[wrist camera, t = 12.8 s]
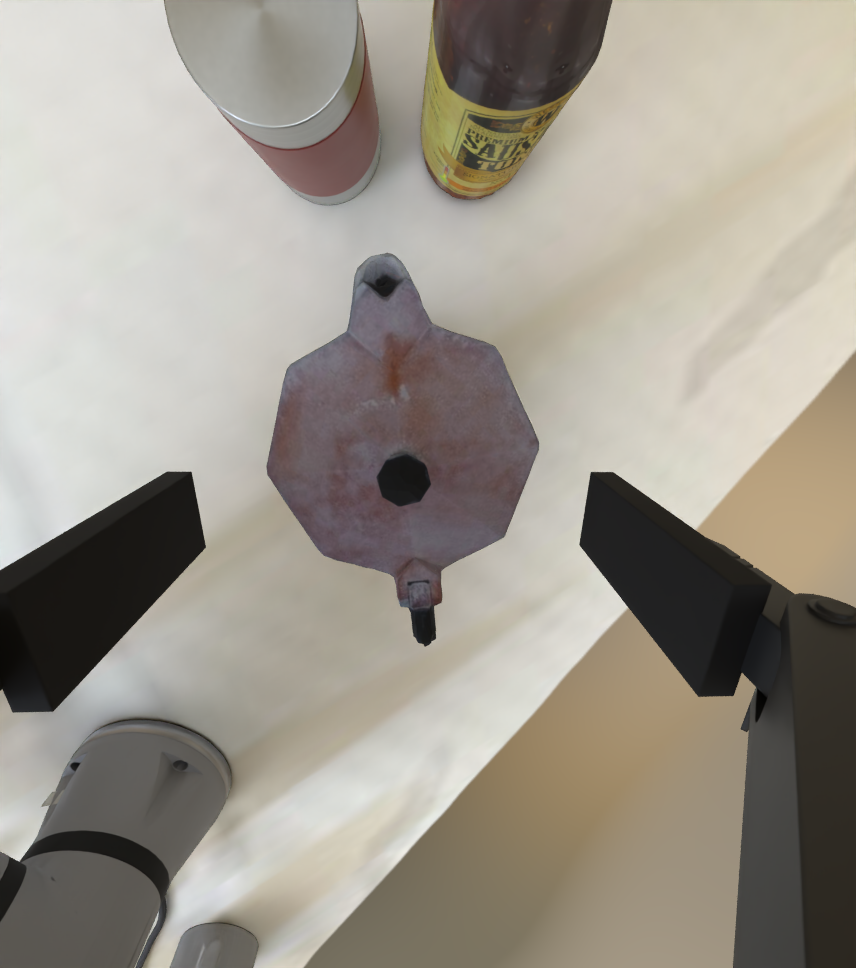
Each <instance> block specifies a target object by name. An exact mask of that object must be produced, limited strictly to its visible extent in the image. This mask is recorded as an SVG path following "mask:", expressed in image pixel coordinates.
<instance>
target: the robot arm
mask: <svg viewBox="0 0 856 968" xmlns="http://www.w3.org/2000/svg"><path fill="white" fill-rule="evenodd" d="M579 545H580V546H581V548H582V549H583V550H584V551H585V553H586V554H587V555H588V557H589V558H590V559H591V560H592V562H593V563H594V564H595V565H596V567H597V568H598V569H599V571H600V572H601V573H602V574H603V576H604V577H605V578H606V579H607V581H608V582H609V583H610V585H611V586H612V587H613V588H614V590H615V591H616V592H617V594H618V595H619V596H620V597H621V599H622V600H623V601H624V602H625V604H626V605H627V606H628V608H629V609H630V610H631V611H632V613H633V614H634V615H635V616H636V618H637V619H638V620H639V621H640V623H641V624H642V625H643V627H644V628H645V629H646V630H647V632H648V633H649V634H650V636H651V637H652V638H653V639H654V641H655V642H656V643H657V644H658V646H659V647H660V648H661V649H662V651H663V652H664V653H665V655H666V656H667V657H668V658H669V660H670V661H671V662H672V663H673V665H674V666H675V667H676V669H677V670H678V671H679V672H680V674H681V675H682V676H683V678H684V679H685V680H686V681H687V682H688V684H689V685H690V687H691V688H692V689H693V690H694V692H695V693H696V694H697V695H698V697H703V696H705V697H707V696H733V695H734V693H735V690H736V687H737V685H738V682H739V678H740V676H741V673H743V674H744V675H745V676H746V677H747V678H748V679H749V680H750V681H751V682H752V683H753V684H754V685H755V686H756V689H755V692H754V695H753V697H752V700H751V702H750V705H749V708H748V711H747V713H746V716H745V718H744V721H743V724H742V727H741V730H744V731H746V732H747V731H748V730H749V737H748V750H747V765H746V780H745V795H744V811H743V825H742V840H741V856H740V870H739V885H738V900H737V916H736V930H735V945H734V961H733V968H856V608H855V607H853V606H851V605H848V604H846V603H843V602H840V601H838V600H834V599H831V598H829V597H824V596H820V595H814V594H802V593H801V594H800V593H799V594H796V595H795V594H794V593H792V592H791V591H789V590H788V589H787V588H785V587H784V586H782V585H781V584H779V583H778V582H776V581H775V580H773V579H772V578H771V577H769V576H768V575H766V574H765V573H763V572H762V571H760V570H759V569H757V568H753V565H752V564H750V563H749V562H747V561H746V560H744V559H740V556H739V555H737V554H736V553H734V552H733V551H731V550H730V549H728V548H727V547H726V546H724V545H722V544H719V543H717V542H715V541H713V540H710V539H708V538H706V537H704V536H703V535H701V534H700V533H699V532H697V531H696V530H694V529H693V528H691V527H690V526H689V525H687V524H686V523H684V522H683V521H682V520H680V519H679V518H677V517H676V516H674V515H673V514H672V513H670V512H669V511H667V510H666V509H665V508H663V507H662V506H660V505H659V504H657V503H656V502H655V501H653V500H652V499H650V498H649V497H648V496H646V495H645V494H643V493H642V492H640V491H639V490H638V489H636V488H635V487H633V486H632V485H631V484H629V483H628V482H626V481H625V480H623V479H622V478H621V477H619V476H618V475H616V474H615V473H614V472H591V475H590V481H589V487H588V494H587V500H586V506H585V513H584V519H583V525H582V532H581V538H580V544H579ZM205 548H206V545H205V540H204V535H203V530H202V524H201V519H200V514H199V509H198V503H197V498H196V493H195V487H194V482H193V477H192V472H166V473H164V474H162V475H161V476H159V477H157V478H156V479H154V480H152V481H151V482H149V483H147V484H146V485H144V486H142V487H140V488H139V489H137V490H135V491H134V492H132V493H130V494H129V495H127V496H125V497H124V498H122V499H120V500H118V501H117V502H115V503H113V504H112V505H110V506H108V507H107V508H105V509H103V510H102V511H100V512H98V513H96V514H95V515H93V516H91V517H90V518H88V519H86V520H85V521H83V522H81V523H80V524H78V525H76V526H74V527H73V528H71V529H69V530H68V531H66V532H64V533H63V534H61V535H59V536H58V537H56V538H54V539H52V540H51V541H49V542H47V543H46V544H44V545H42V546H41V547H39V548H37V549H36V550H34V551H32V552H30V553H29V554H27V555H25V556H24V557H22V558H20V559H19V560H17V561H15V562H14V563H12V564H10V565H8V566H7V567H5V568H3V569H2V570H0V690H2V689H3V691H4V694H5V696H6V698H7V700H8V703H9V705H10V707H11V710H12V712H53V711H54V710H55V709H56V708H57V707H58V706H59V705H60V704H61V703H62V701H63V700H64V699H65V698H66V697H67V696H68V695H69V694H70V693H71V692H72V691H73V690H74V689H75V687H76V686H77V685H78V684H79V683H80V682H81V681H82V680H83V679H84V678H85V677H86V676H87V675H88V674H89V672H90V671H91V670H92V669H93V668H94V667H95V666H96V665H97V664H98V663H99V662H100V661H101V660H102V658H103V657H104V656H105V655H106V654H107V653H108V652H109V651H110V650H111V649H112V648H113V647H114V646H115V645H116V643H117V642H118V641H119V640H120V639H121V638H122V637H123V636H124V635H125V634H126V633H127V632H128V631H129V629H130V628H131V627H132V626H133V625H134V624H135V623H136V622H137V621H138V620H139V619H140V618H141V617H142V616H143V614H144V613H145V612H146V611H147V610H148V609H149V608H150V607H151V606H152V605H153V604H154V603H155V602H156V600H157V599H158V598H159V597H160V596H161V595H162V594H163V593H164V592H165V591H166V590H167V589H168V588H169V586H170V585H171V584H172V583H173V582H174V581H175V580H176V579H177V578H178V577H179V576H180V575H181V574H182V573H183V571H184V570H185V569H186V568H187V567H188V566H189V565H190V564H191V563H192V562H193V561H194V560H195V559H196V557H197V556H198V555H199V554H200V553H201V552H202V551H203V550H204V549H205ZM230 788H231V772H230V769H229V766H228V764H227V762H226V760H225V758H224V757H223V756H222V754H221V753H220V752H219V751H218V750H217V749H216V748H215V747H214V746H213V745H212V744H211V743H210V742H208V741H207V740H206V739H204V738H203V737H201V736H199V735H198V734H196V733H194V732H192V731H190V730H187V729H185V728H182V727H180V726H177V725H173V724H169V723H165V722H159V721H152V720H129V721H122V722H117V723H114V724H110V725H107V726H105V727H103V728H101V729H99V730H97V731H95V732H94V733H92V734H91V735H90V736H89V737H88V738H87V739H86V740H85V741H84V742H83V743H82V745H81V746H80V747H79V748H78V750H77V751H76V752H75V753H74V755H73V756H72V758H71V760H70V761H69V763H68V764H67V766H66V768H65V770H64V772H63V774H62V777H61V779H60V782H59V784H58V787H57V789H56V791H55V792H52V793H51V794H50V795H49V797H48V798H47V799H46V801H45V802H44V803H43V804H42V806H41V807H43V806H48V805H50V806H49V809H48V811H47V813H46V816H45V818H44V821H43V823H42V826H41V828H40V830H39V833H38V835H37V837H36V839H35V841H34V842H33V844H32V845H31V847H30V848H29V849H28V851H27V852H26V853H25V855H24V856H23V858H22V859H21V860H20V862H19V861H17V860H15V859H13V858H11V857H9V856H8V855H6V854H4V853H2V852H0V968H134V967H135V965H136V962H137V960H138V958H139V955H140V953H141V951H142V948H143V946H144V944H145V941H146V939H147V937H148V934H149V932H150V930H151V927H152V925H153V923H154V920H155V918H156V916H157V913H158V911H159V917H158V921H157V924H156V926H155V928H154V930H153V931H152V933H151V935H150V937H149V938H148V940H147V943H146V945H145V947H144V950H143V952H142V954H141V956H140V958H139V960H138V963H137V965H136V968H142V966H143V964H144V961H145V959H146V957H147V955H148V953H149V951H150V949H151V946H152V944H153V942H154V940H155V939H156V937H157V935H158V933H159V932H160V930H161V928H162V926H163V923H164V921H165V917H166V900H165V895H166V892H167V890H168V888H169V886H170V884H171V881H172V880H173V878H174V876H175V875H176V874H177V872H178V871H179V869H180V868H181V867H182V865H183V864H184V863H185V861H186V860H187V859H188V857H189V856H190V855H191V853H192V852H193V851H194V849H195V848H196V846H197V845H198V844H199V842H200V841H201V840H202V838H203V837H204V836H205V834H206V833H207V831H208V830H209V829H210V827H211V826H212V825H213V823H214V822H215V821H216V819H217V817H218V816H219V814H220V812H221V810H222V809H223V806H224V804H225V802H226V799H227V797H228V794H229V791H230Z"/></svg>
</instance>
